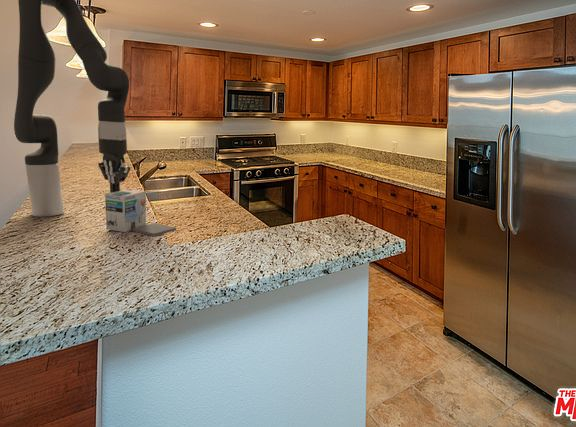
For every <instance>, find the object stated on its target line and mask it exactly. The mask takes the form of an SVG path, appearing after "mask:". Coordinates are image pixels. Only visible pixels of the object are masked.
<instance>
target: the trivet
mask: <svg viewBox="0 0 576 427" xmlns="http://www.w3.org/2000/svg"><path fill="white" fill-rule="evenodd" d="M131 231H132V232H136V233H139V234H142V235H147V236H151V237H157V236H161V235H163V234H164V235H165V234H168V233H172V232H176V231H177V227H174V226H169V225H164V224H162V223H157V222H152V223H151V222H150V223H146V225H143V226H138V227H134V228H132V230H131Z"/></svg>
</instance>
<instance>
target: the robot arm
mask: <svg viewBox="0 0 576 427" xmlns="http://www.w3.org/2000/svg"><path fill="white" fill-rule="evenodd" d="M17 3H18V13H19V14H18V15H19V36H18V37H19V41H18V42H19V44H18V45H19V46H18V56H17V57H18V58H17V59H18V60H17V61H18V62H17V66H18V67H17V70H18V71H17V79H18V80H17V82H18V83H17V98H16V106H15V111H14V119H13V120H14V121H13V131H14V135H15V137H16V139H17V141H18V142H20V143H22V144H40V147H39V149H37V150H36V151H34V152H31V153H29V154H26V155H25V156H24V164H25V172H26V179H27V185H28V193H29V199H30V208H31V216H33V217H40V218H41V217H43V218H44V217H53V216H60V215H62V214H64V213H65V209H64V201H63V191H62V182H61V175H60V166H59V143H58V142H59V141H58V128H57V125H56V124H57V123H56V121H55V119H54V118H53V117H52V116H51V115H47V114H38V113H37V114H36V113H35V114H34V109H35V106H36V103H37V101H38V100H39V98H40V97H41V95H43V93H44V92H45V91H47V89H48V88H49V86H50V85H51V84H52V82H53V80H54V78H55V73H56V61H57V59H56V58H57V56H56V53H55V50H54V47H53V45H52V43H51V40H50V39H49V37H48V35H47V33H46V31H45V29H44V25H43V21H42V6H48V7H52V8H55V9H56V10H57V11H58V13H59V14H61V16H62V17H63V19H64V21H65V29H66V30H65V33H66V37H67V39H68V42H69V45H70V46H71V47H72V49H73V50H74V51H75V54H76V55H77V56H78V57H79V58H80V60H81V61H82V65H83V68H84V70H85V73H86V76H87V78H88V80H89V82H90V83H91V84H92V85H93V86H94V87H95V88H97V89H98V90H100V91H104V92H107V94H106V98H105V99H102V100H100V101H99V102H98V103H97V114H98V115H97V116H98V118H97V120H98V125H97V126H98V127H97V136H98V137H97V138H98V151H99V152H98V153H99V154H102V161H100V162H97V163H98V164H97V165H98V168H99V170H100V171H101V174H102V176H103V178H104V180H106V181H108V183H109V191H110V192H109V193H112V192H117V191H121V186H120V184H121V183H124V182H125V181H126V179H127V177H128V175H129V174H130V171H131V166H127V165H126V160H125V157H124V155H126V154H127V153H128V143H127V142H128V141H127V128H126V115H125V114H126V113H125V112H126V111H125V108H126V103H127V101H128V94H129V90H130V80H129V76H128V74H127V72H126V71H125V70H124V69H123V68H121V67H120V66H119V67H118V66H113V65H109V64H107V63H106V61H107V59H108V56H107V55H108V54H107V52H106V50H105V48H104V46H102V43H101V42H100V41H99V40H98V38H97V37H96V35H95V34H94V32H93V31H92V29H91V28H90V26H89V25H88V23H87V22H86V19H85V17H84V15H83V13H82V12H81V10H80V7H79V5H78V3H77V1H76V0H18V2H17Z"/></svg>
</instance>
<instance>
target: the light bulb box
mask: <svg viewBox="0 0 576 427" xmlns="http://www.w3.org/2000/svg"><path fill="white" fill-rule="evenodd" d="M104 196H105V198H104V199H105V203H104V204H105V227H106V228H105V229H106V230H109V231H115V232H122V233H126V232H130V231H132V228H134V227H138V226H143V225H147V213H146V212H147V211H146V210H147V200H146V199H147V193H146V190H145V191H143V190H139V189H138V190H137V189H132V188H125V189H123V190H122V189H120V191H117V192H112V193H110V192H109V193H105V194H104Z"/></svg>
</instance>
